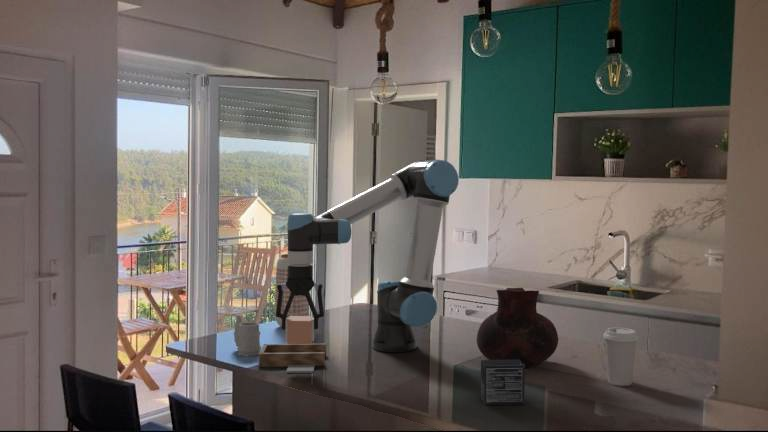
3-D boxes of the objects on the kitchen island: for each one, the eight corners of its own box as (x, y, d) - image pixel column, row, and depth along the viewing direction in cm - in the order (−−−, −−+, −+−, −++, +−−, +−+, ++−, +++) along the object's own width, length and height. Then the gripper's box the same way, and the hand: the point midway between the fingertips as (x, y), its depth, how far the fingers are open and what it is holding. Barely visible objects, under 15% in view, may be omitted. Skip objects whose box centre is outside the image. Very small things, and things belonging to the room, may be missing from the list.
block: (310, 344, 207) (310, 320, 206) (287, 344, 207) (287, 320, 206) (312, 338, 214) (312, 316, 213) (289, 338, 214) (289, 315, 213)
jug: (558, 357, 226) (560, 280, 224) (556, 378, 202) (557, 293, 200) (482, 351, 233) (482, 277, 231) (470, 372, 208) (471, 289, 207)
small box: (519, 397, 185) (519, 358, 185) (525, 405, 179) (525, 365, 178) (480, 397, 185) (480, 358, 184) (484, 405, 178) (484, 365, 178)
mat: (314, 366, 215) (314, 364, 215) (313, 372, 208) (313, 370, 208) (288, 366, 214) (288, 364, 214) (286, 373, 207) (286, 371, 207)
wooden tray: (326, 355, 227) (326, 343, 227) (324, 365, 215) (324, 353, 215) (264, 356, 227) (264, 344, 226) (258, 366, 214) (258, 353, 214)
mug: (246, 357, 225) (246, 321, 224) (225, 351, 233) (225, 316, 232) (265, 353, 230) (265, 317, 230) (244, 347, 238) (244, 312, 238)
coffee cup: (609, 375, 205) (610, 325, 204) (642, 381, 199) (643, 330, 198) (596, 383, 198) (597, 331, 197) (630, 389, 192) (631, 336, 191)
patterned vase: (272, 324, 274) (271, 253, 273) (305, 322, 278) (305, 252, 277) (277, 331, 262) (277, 257, 260) (312, 329, 266) (312, 256, 264)
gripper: (333, 263, 213) (333, 337, 215) (268, 263, 212) (268, 337, 214) (332, 266, 206) (332, 342, 207) (265, 266, 205) (265, 343, 206)
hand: (300, 339), depth 210 cm, fingers closed on block, 7 cm apart
